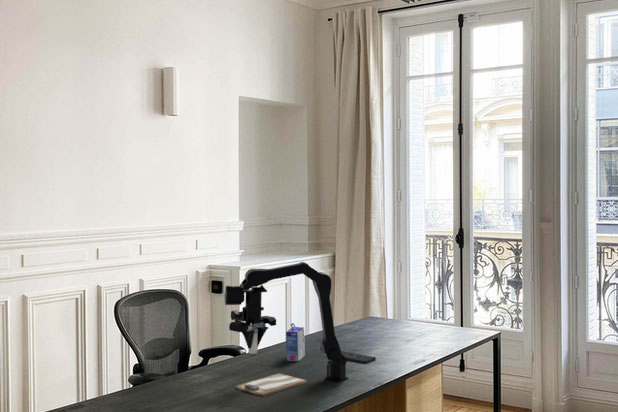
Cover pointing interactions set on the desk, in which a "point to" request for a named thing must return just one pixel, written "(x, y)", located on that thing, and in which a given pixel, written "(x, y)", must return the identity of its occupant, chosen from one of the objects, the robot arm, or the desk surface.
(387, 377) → the desk surface
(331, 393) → the desk surface
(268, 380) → the clipboard
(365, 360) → the smart home device
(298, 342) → the ink cartridge box
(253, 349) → the marker
